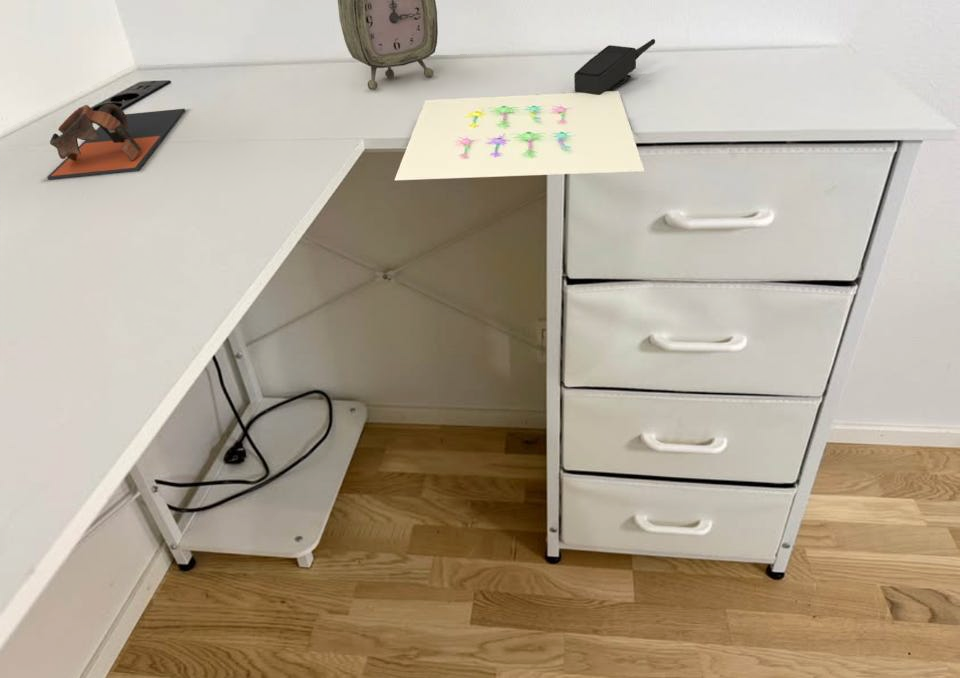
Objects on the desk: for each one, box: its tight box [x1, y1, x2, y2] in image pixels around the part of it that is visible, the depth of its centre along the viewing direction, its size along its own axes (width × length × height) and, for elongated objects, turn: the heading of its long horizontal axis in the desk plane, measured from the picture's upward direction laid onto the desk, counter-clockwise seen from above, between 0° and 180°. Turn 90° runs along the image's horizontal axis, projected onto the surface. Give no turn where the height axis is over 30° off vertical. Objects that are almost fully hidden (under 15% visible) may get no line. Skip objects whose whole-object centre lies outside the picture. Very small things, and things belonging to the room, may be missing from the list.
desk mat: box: [46, 108, 186, 181], centre depth 102 cm, size 12×26×1 cm, turn 6°
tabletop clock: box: [337, 0, 439, 91], centre depth 112 cm, size 14×9×25 cm, turn 120°
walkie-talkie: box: [573, 38, 656, 95], centre depth 109 cm, size 6×6×20 cm
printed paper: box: [394, 90, 645, 181], centre depth 93 cm, size 30×30×2 cm
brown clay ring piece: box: [49, 102, 140, 161], centre depth 94 cm, size 12×10×8 cm
